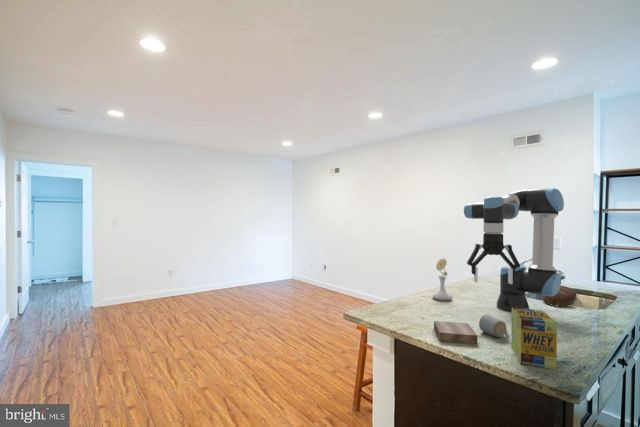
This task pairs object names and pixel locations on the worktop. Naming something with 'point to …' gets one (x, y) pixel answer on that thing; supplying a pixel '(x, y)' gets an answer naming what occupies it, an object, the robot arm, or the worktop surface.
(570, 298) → the bread
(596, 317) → the worktop surface
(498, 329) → the ceramic mug
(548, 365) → the protein box
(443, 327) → the walnut stand
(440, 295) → the flower in vase
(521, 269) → the robot arm
